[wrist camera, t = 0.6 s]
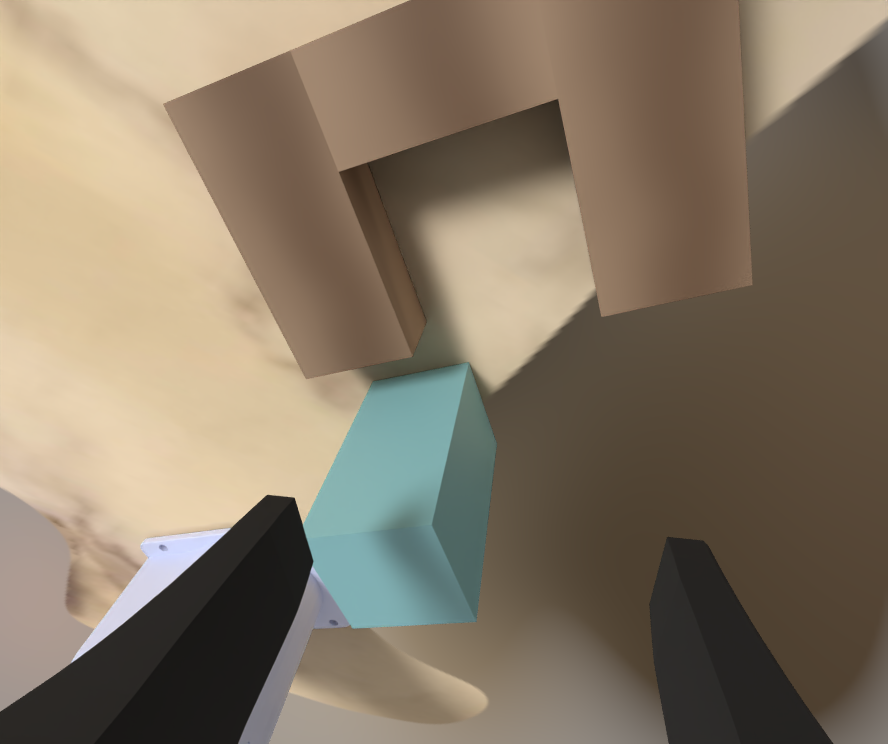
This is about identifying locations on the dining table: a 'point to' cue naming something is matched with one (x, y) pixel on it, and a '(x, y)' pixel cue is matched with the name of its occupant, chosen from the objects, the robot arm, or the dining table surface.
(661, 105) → the u-shaped block
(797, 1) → the dining table surface
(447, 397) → the peg
